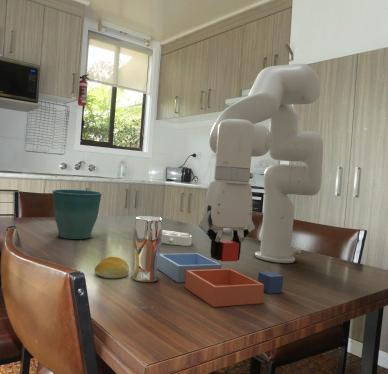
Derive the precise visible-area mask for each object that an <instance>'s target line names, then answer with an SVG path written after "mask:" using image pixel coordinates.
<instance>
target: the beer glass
mask: <svg viewBox="0 0 388 374" xmlns="http://www.w3.org/2000/svg"><path fill="white" fill-rule="evenodd" d="M162 230H163V218H161V217H157V216H156V217H155V216H144V215H143V216H142V215H140V216H136V217H135V222H134V228H133V248H134V249H133V250H134V264H135V265H134V269H133V273H132V279H133V280H134V281H135V282H136V281H137V282H139V283H140V282H141V283H154V282H156V281H158V272H157V270H158V269H157V266H158V256H159V254H160V251H161V248H162V247H161V246H162V243H161V242H162Z"/></svg>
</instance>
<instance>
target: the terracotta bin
mask: <svg viewBox="0 0 388 374" xmlns="http://www.w3.org/2000/svg"><path fill="white" fill-rule="evenodd" d="M184 283H185V284H184V288H185V289H186V290H188V291H189V292H190V293H192V294H193V295H195V296H197V297H198V298H200V299H201V300H202V301H204V302H205V303H207V304H208V305H210V306H211V307H213V308H220V307H231V306H244V305H257V304H258V305H259V304H263V301H264V284H262V283H260V282H258V280H255V279H253V278H251V277H249V276H248V275H246V274H245V275H244V274H242V273H240V272H238V271H236V270H234V269H232V268H221V269H211V270H186V282H184Z"/></svg>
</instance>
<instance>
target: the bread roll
mask: <svg viewBox="0 0 388 374" xmlns="http://www.w3.org/2000/svg"><path fill="white" fill-rule="evenodd" d="M129 272H130V265H129V264H128V262H127V261H126V260H125V259H123V258H121V257H117V256H107V257H105V258H103V259H102V260H101V261H99V262H98V264H96V266H95V268H94V273H95V274H96V275H97V276H99V277H102V278H105V279H122V278H125V277H127V276H128V274H129Z"/></svg>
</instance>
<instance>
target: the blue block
mask: <svg viewBox="0 0 388 374" xmlns="http://www.w3.org/2000/svg"><path fill="white" fill-rule="evenodd" d="M257 281H258V282H260V283H262V284H264V291H263V293H267V294H269V295H270V294H281V293H283V288H284V287H283V286H284V275H282V274H279V273H276V272H274V271H273V270H272V271H271V270H270V271H258V276H257Z"/></svg>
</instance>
